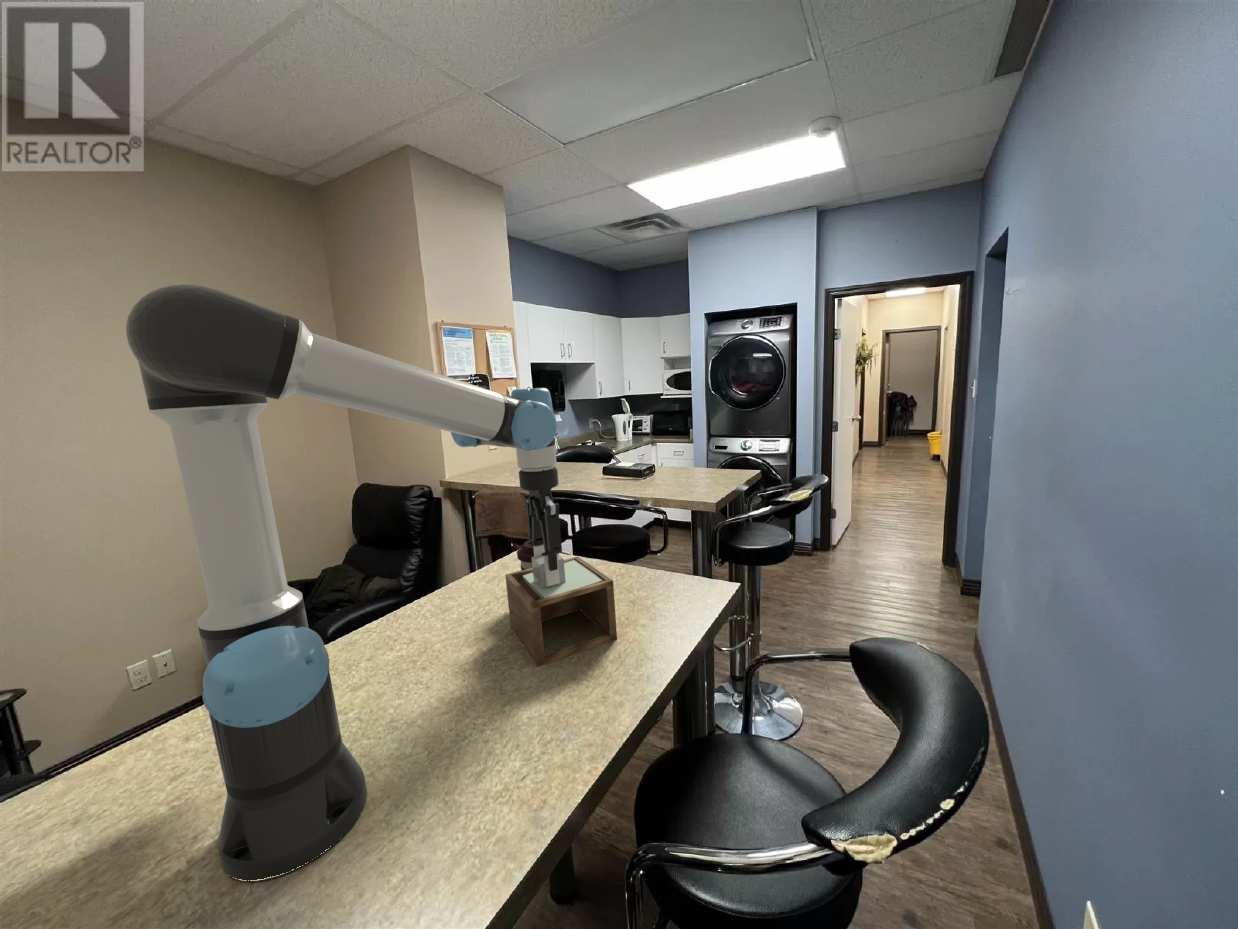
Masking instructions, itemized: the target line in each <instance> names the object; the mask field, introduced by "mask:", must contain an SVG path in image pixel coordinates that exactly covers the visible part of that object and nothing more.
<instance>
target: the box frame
mask: <svg viewBox="0 0 1238 929" xmlns="http://www.w3.org/2000/svg"><path fill="white" fill-rule="evenodd" d="M572 560H575V561H577V562H578V563H580V564H581V565H582V566H584V567H585V568H587V569H588V570H589V571H591V572H592V573H594V574H595V575H597V576H598V577H599V578H601V579H602V580H604V581H602V582H599V583H595V584H592V585H588V586H585V587H581V588H578V589H574V590H570V591H567V592H563V593H560V594H556V595H553V596H549V597H546V598H542V599H541V598H540V597H539V596H538V595H537V594H536V593H535V592H534V591H533V590H532V588H531V587H530V586H529V585H528V584H527V583H526V582H525V581H524V580H523V575H526V574H530V573H533V568H530V569H526V570H522V571H521V570H518V571H514V572H509V573H506V574H505V575H504V576H505V584H506V586H505V587H506V594H507V603H508V613H509V621H510V622H509V623H510V629H511V631H512V633H513V634H514V635H515V636H516V637H517V639H518V641H519V642H520V643H521V645H522V647H523V648H524V649H525V650H526V652H527V653H528V654H529V656H530V658H531V659H532V660H533V662H534V663H535V665H536V666H537V667H540V666H543V665H547V664H549V663H551V662H555V661H557V660H560V659H563V658H566V657H568V656H571V655H574V654H576V653H577V654H578V653H580V652H582V651H586V650H589V649H591V648H594V647H596V646H599V645H603V644H606V643H608V642H610V641H611V642H612V641H613V640H617V639H618V634H617V633H618V632H617V620H616V619H617V616H616V604H615V601H616V600H615V588H614V587H615V586H614V580H613V579H612V578H610V577H609V576H607V575H605V573H602V572H601V571H600V570H598V569H597V568H595V567H594V566H593V565H591V564H590V563H588V562H587V561H586V560H584V559H582V558H581V557H579V556H574V557H570V558H566V559H564V563H566V562H569V561H572ZM578 611H581V612H582V613H583V615H584V616H586V617H587V618H588V619H589V620H590V621H591V622H592V623H593V624H594V625H595V626H597V627H598V629H600V630H601V631H602V632H603V633H604V634H603V635H601V636H599V637H595V638H592V639H590V640H587V641H586V640H585V641H584V642H582V643H578V644H575V645H572V646H569V647H566V648H564V649H561V650H558V651H555V652H552V653H550V654H546V655H545V647H544V646H545V645H544V637H543V634H544V633H543V628H542V627H543V626H542V622H544V621H545V622H546V621H548V620H552V619H554V618H558V617H562V616H564V615H565V616H566V615H567V614H571V613H575V612H578Z"/></svg>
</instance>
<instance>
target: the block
mask: <svg viewBox="0 0 1238 929" xmlns="http://www.w3.org/2000/svg"><path fill="white" fill-rule="evenodd" d="M531 558H532V567H533V577H534V581H535V582H536V583H537V584H538V585H539V586H540V587H541V588H542V589H543V588H546V587H547V586H546V580H545V569H544V558H543V556H542V555H539V556H535V557H531ZM564 560H565V559H564V557H562V556H560V554H559V555H558V565H559V577H560V583H564V582H566V580H565V569H564ZM560 583H559V584H560ZM555 585H557V584H555ZM552 586H553V585H552ZM548 587H550V586H548Z"/></svg>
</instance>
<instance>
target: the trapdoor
mask: <svg viewBox="0 0 1238 929" xmlns="http://www.w3.org/2000/svg"><path fill="white" fill-rule="evenodd" d="M564 569H565V580H566V582H564V583H560V584H557V585H553V586H550V587H546V588H543V589H542V588H541V587H540V586H539V585H538V584H537V583H536V582H535V581H534V577H533V573H530V574H526V575H523V580H524V581H525V582H526V583H527V584H528V585H529V586H530V587H531V588H532V590H533V591H534V592H535V593H536V594H537V595H538V596H539V597H540V598H541V599H542V598H546V597H549V596H553V595H556V594H560V593H563V592H567V591H570V590H574V589H578V588H581V587H585V586H588V585H592V584H595V583H599V582H602V581H604V580H602V579H601V578H599V577H598V576H597V575H595V574H594V573H592V572H591V571H589V570H588V569H587V568H585V567H584V566H582V565H581V564H580V563H578V562H577V561H575V560H572V561H569V562H566V563H564Z"/></svg>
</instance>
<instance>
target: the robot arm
mask: <svg viewBox="0 0 1238 929" xmlns="http://www.w3.org/2000/svg"><path fill="white" fill-rule="evenodd" d="M125 329H126V330H125V331H126V339H127V343H128V346H129V348H130V350H131V352H132V354H133V356H134V358H135V359H136V361H138V366H139V371H140V375H141V379H142V380H141V381H142V384H143V387H144V391H145V392H144V393H145V396H146V401H147V406H148V409H149V413H150V414H151V415H154V416H155V417H156V418H158V419H160V420H162V421H164V422H165V423H166V424H168V425H169V427H170V431H171V436H172V440H173V446H174V449H175V454H176V458H177V459H176V460H177V463H178V468H179V472H180V477H181V482H182V486H183V491H184V495H185V496H184V497H185V500H186V504H187V509H188V514H189V518H190V522H191V523H190V524H191V528H192V532H193V536H194V541H195V546H196V550H197V555H198V556H197V557H198V559H199V564H200V569H201V572H202V578H203V583H204V588H205V591H206V596H207V597H206V598H207V601H208V607H207V608H206V610H205V611H204V612H203V613H202V614H201V615H200V617H199V618H198V619H197V622H196V623H197V628H198V632H199V636H200V641H201V647H202V650H203V655H204V660H205V664H206V668H205V669H204V672H203V677H202V686H203V687H202V701H203V705H204V707H205V709H206V710H207V711H208V712H207V713H208V715H209V720H210V724H211V728H212V733H213V737H214V740H215V746H216V750H217V753H218V754H217V755H218V759H219V762H220V767H221V772H222V776H223V780H224V785H225V788H226V793H227V794H226V799H225V800H226V801H225V804H224V810H223V815H222V821H221V825H220V830H219V836H218V848H217V849H218V854H219V858H220V863H221V866H223V867H222V869H223V871H224V870H225V871H224V873H225V872H226V873H227V874H228V875H230V876H231V877H234V878H237V879H242V880H247V881H248V880H249V881H250V880H257V879H264V878H267V877H270V876H271V877H272V876H276V875H280V874H282V873H286V872H289V871H291V870H292V869H296V868H297V867H299V866H302V865H304V866H306V865H305V863H307V862H310V861H311V860H312V859H314V858H315V857H317V856H319V855H320V854H321V853H323V852H325V850H326V849H328V848H330V846H332V845H333V844H335V843H336V842H337V841H338V842H339V841H340V840H341V839H342V838H343V837H344V836H346V834H347V833H348V832H349V831H350V830H351V829H352V827H353V826H354V825H355V824H356V822H357V821H358V819H359V818H360V816H361V814H362V813H363V809H364V808H365V806H364V805H366V803H367V797H368V788H367V784H366V778H365V773H364V771H363V769H362V767H361V765H360V764H359V763H358V761H357V760H356V758H355V757H354V756H353V754H352V753H351V752H350V750H349V749H348V748H347V747H346V745H345V743H344V742H343V739H342V735H341V729H340V728H341V727H340V723H339V722H340V721H339V717H338V712H337V707H336V701H335V696H334V695H335V694H334V690H333V684H332V679H331V675H330V674H331V673H330V657H329V652H328V650H327V648H326V646H325V644H324V641H323V639H322V637H321V636H320V635H319V633H317V632H316V631H315V630H313V629H311V628H310V627H309V624H308V617H307V612H306V607H305V602H304V597H303V592H301V591H300V590H299V589H296V588H294V587H291V586H289V585H288V581H287V577H286V571H285V570H286V569H285V566H284V559H283V555H282V549H281V544H280V538H279V534H278V533H279V532H278V527H277V523H276V522H277V521H276V517H275V512H274V506H273V502H272V496H271V491H270V485H269V480H268V474H267V469H266V464H265V458H264V453H263V449H262V444H261V438H260V431H259V426H258V422H257V420H258V419H257V418H259V417H258V416H259V415H260V414H261V413H262V412H263V411H264V409H266V408H267V407H268V399H274V400H278V401H282V400H285V399H287V398H289V397H291V396H298V397H302V398H306V399H310V400H315V401H319V402H324V403H327V404H333V405H335V406H336V405H337V406H340V407H345V408H348V409H353V410H356V411H357V410H358V411H362V412H365V413H369V414H374V415H378V416H382V417H386V418H391V419H395V420H399V421H402V422H407V423H412V424H416V425H419V426H425V427H427V428H428V427H429V428H433V429H438V430H441V431H444V432H449V433H450V434H451V437H452V439H453V442H454V443H455V445H457V446H459V447H461V448H469V447H471V448H472V447H473V448H476V447H477V446H478V447H479V446H495V447H503V448H506V447H507V448H513V449H515V450H516V459H517V460H516V462H517V467H518V468H519V469H520V470H519V471H518V478H519V480H518V481H519V487H520V489H522V490H523V491H528V493H524V495H523V498H524V502H525V510H526V520H527V530H528V531H527V532H528V534H527V535H528V540H532V544H533V545H534V546H533V548H534V557H535V556H539V555H542V556H543V558H544V569H545V580H546V586H547V587H548V586H552V585H555V584H559V583H560V577H559V565H558V554H557V553H559V554H560V553H562V552H563V548H562V546H563V545H562V535H561V524H560V523H561V522H560V504H559V503H558V502H554V501H555V500H554V497H553V496H552V491H551V490H552V489H553V488H556V487H557V486H559V473H558V468H557V467H556V465H557V455H556V454H557V453H558V449H557V448H556V441H555V440H556V439H555V437H556V433H557V428H558V427H557V426H558V424H557V422H558V421H557V418H556V416H555V413H554V408H553V402H552V401H553V400H552V396H551V392H550V390H549V389H548V388H546V387H535V388H518V389H513V390H512V391H511V393H510V394H511V395H510V396H509V395H505V394H502V393H499V392H496V391H493V390H490V389H486V388H485V387H480V386H477V385H474V384H472V383H468V382H466V381H462V380H458V379H456V378H453V377H449V376H446V375H443V374H441V373H437V372H434V371H431V370H429V369H425V368H423V367H422V368H421V367H419V366H415V365H412V364H409V363H407V362H403V361H401V360H397V359H394V358H391V357H387V356H385V355H382V354H378V353H376V352H373V351H369V350H367V349H364V348H360V347H358V346H355V345H354V346H353V345H351V344H349V343H345V342H341V341H338V340H334V339H331V338H329V337H325V336H322V335H319V334H316V333H313V332H311V331H310V330H309V329H308V327H307V326H306V324H304V322H303V321H302V320H301V319H299V318H296V317H292V316H289V315H287V314H284V313H280V312H278V311H276V310H272V309H270V308H267V307H264V306H262V305H259V304H256V303H254V302H251V301H249V300H247V299H243V298H241V297H238V296H235V295H232V294H230V293H227V292H224V291H221V290H218V289H215V288H212V287H208V286H203V285H195V284H174V285H168V286H167V285H166V286H164V287H159V288H157V289H154V290H152V291H150V292H149V293H147V294H145V295H143V296H142V297H140V299H139V300H138V301H137V302H136V303H135V304H134V305H133V306H132V308H131V310H130V312H129V313H128V316H127V320H126V326H125ZM267 398H268V399H267ZM356 820H357V821H356ZM350 828H351V829H350ZM349 829H350V830H349ZM343 835H344V836H343ZM341 837H342V838H341ZM340 838H341V839H340ZM339 839H340V840H339ZM338 842H337V843H338ZM337 843H336V844H337ZM336 844H335V845H336ZM332 847H333V846H332ZM330 849H331V848H330ZM325 853H326V852H325ZM323 854H324V853H323ZM319 857H320V856H319ZM311 862H312V861H311ZM311 862H310V863H311ZM226 873H225V874H226ZM227 874H226V875H227ZM228 875H227V876H228ZM230 876H229V877H230ZM231 877H230V878H231Z"/></svg>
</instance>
